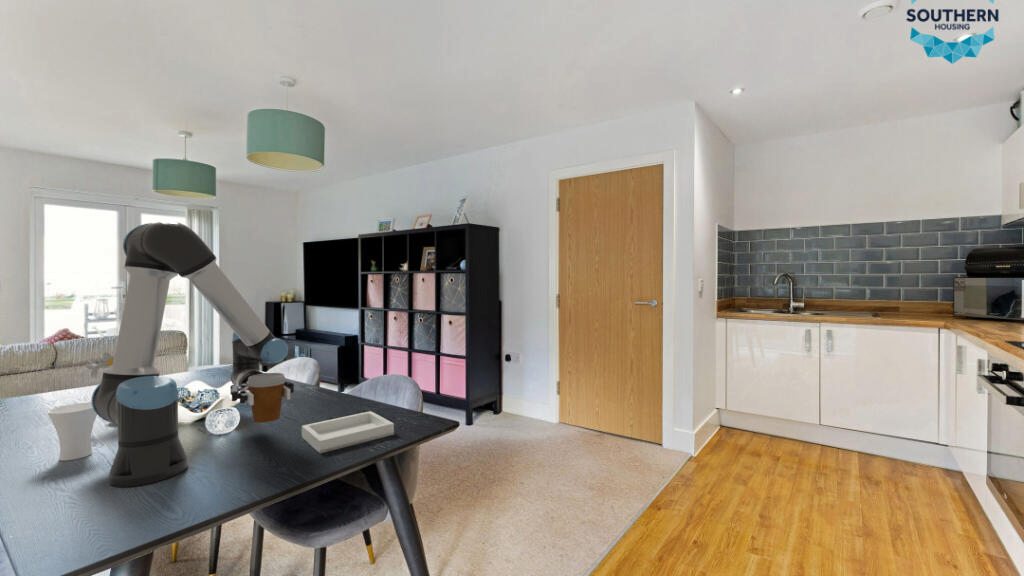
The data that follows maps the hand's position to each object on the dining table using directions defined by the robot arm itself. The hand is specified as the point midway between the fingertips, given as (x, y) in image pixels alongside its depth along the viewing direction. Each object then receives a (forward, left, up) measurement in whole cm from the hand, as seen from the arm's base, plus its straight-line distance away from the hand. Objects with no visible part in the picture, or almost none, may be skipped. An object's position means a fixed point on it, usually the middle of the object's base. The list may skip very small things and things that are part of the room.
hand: (270, 397), depth 119 cm
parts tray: (+22, +4, -17) cm, 28 cm away
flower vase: (-30, +71, -17) cm, 79 cm away
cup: (-40, +39, -17) cm, 58 cm away
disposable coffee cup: (0, +5, -7) cm, 9 cm away
